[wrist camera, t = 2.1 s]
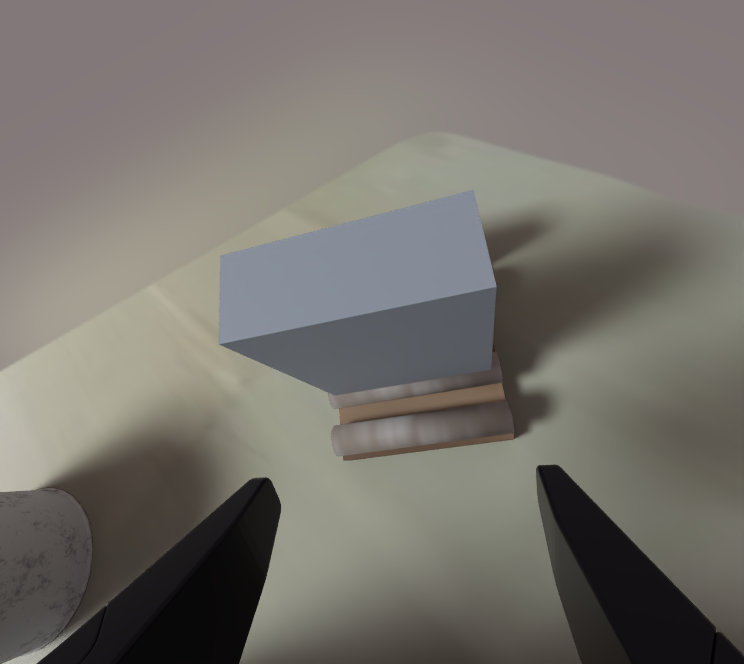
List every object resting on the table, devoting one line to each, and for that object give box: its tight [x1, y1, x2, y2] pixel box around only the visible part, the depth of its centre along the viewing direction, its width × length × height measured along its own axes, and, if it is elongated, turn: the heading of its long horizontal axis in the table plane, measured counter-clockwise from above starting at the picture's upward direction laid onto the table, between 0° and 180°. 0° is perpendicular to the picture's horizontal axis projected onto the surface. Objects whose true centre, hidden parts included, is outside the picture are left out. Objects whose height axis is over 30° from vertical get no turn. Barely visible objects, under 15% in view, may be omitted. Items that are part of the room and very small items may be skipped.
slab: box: [219, 190, 497, 396], centre depth 16 cm, size 3×8×10 cm, turn 97°
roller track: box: [328, 346, 515, 460], centre depth 21 cm, size 11×9×5 cm
